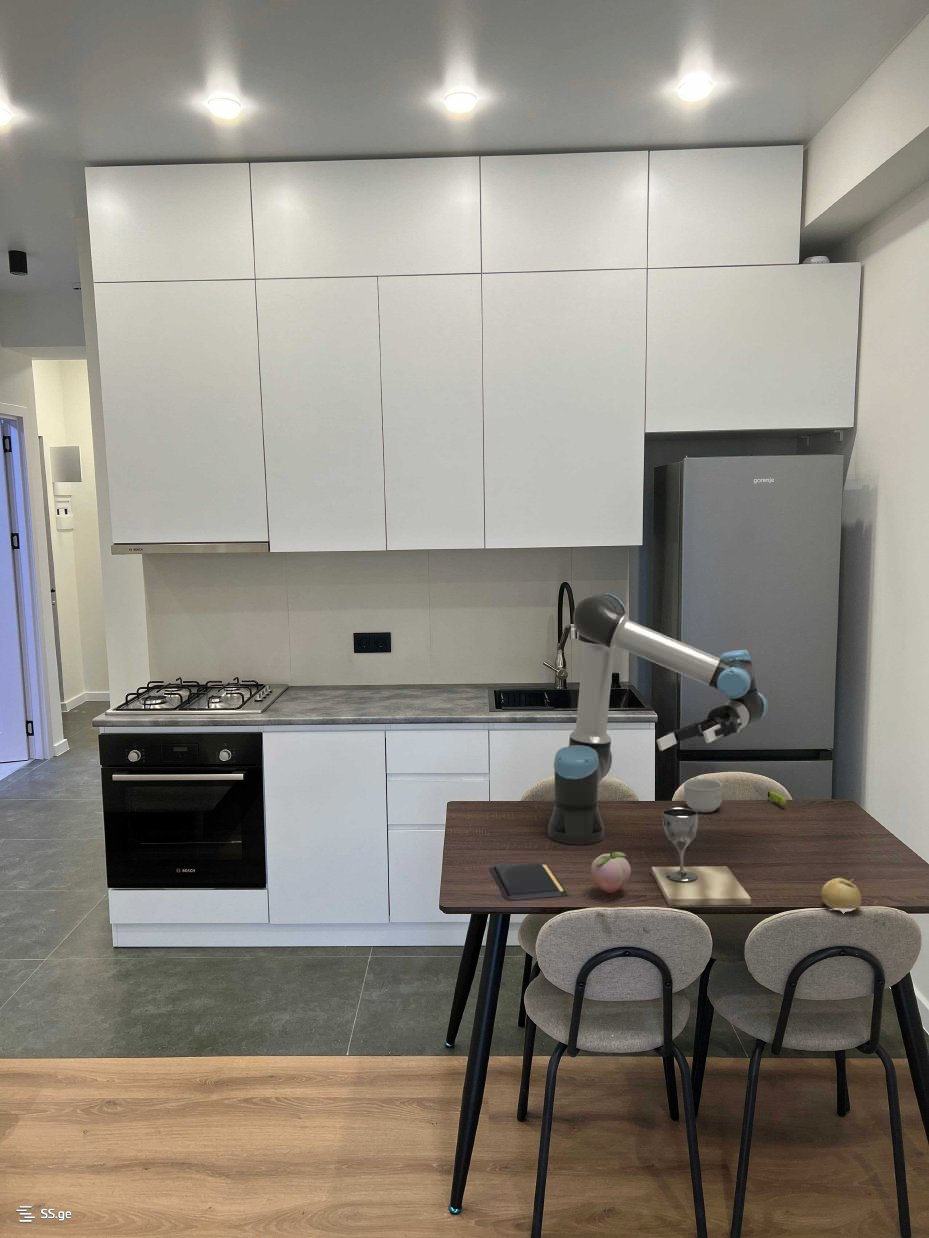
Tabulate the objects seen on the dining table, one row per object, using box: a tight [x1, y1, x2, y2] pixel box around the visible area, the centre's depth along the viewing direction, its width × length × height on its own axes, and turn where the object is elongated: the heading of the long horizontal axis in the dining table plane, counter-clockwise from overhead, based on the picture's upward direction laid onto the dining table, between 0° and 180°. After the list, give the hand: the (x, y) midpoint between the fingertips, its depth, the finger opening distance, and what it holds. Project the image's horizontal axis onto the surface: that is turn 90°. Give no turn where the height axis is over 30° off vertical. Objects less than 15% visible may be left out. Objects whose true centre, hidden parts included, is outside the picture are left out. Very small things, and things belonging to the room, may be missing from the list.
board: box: [651, 865, 752, 907], centre depth 200 cm, size 18×18×2 cm
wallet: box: [488, 862, 569, 902], centre depth 205 cm, size 20×2×15 cm
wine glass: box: [662, 807, 699, 881], centre depth 203 cm, size 8×8×15 cm
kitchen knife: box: [752, 784, 787, 805], centre depth 264 cm, size 22×1×3 cm, turn 6°
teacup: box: [683, 776, 723, 813], centre depth 256 cm, size 14×11×8 cm
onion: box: [820, 877, 862, 909], centre depth 189 cm, size 8×8×7 cm
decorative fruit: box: [590, 850, 632, 894], centre depth 198 cm, size 9×8×10 cm
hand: (682, 741), depth 207 cm, fingers open, 13 cm apart
